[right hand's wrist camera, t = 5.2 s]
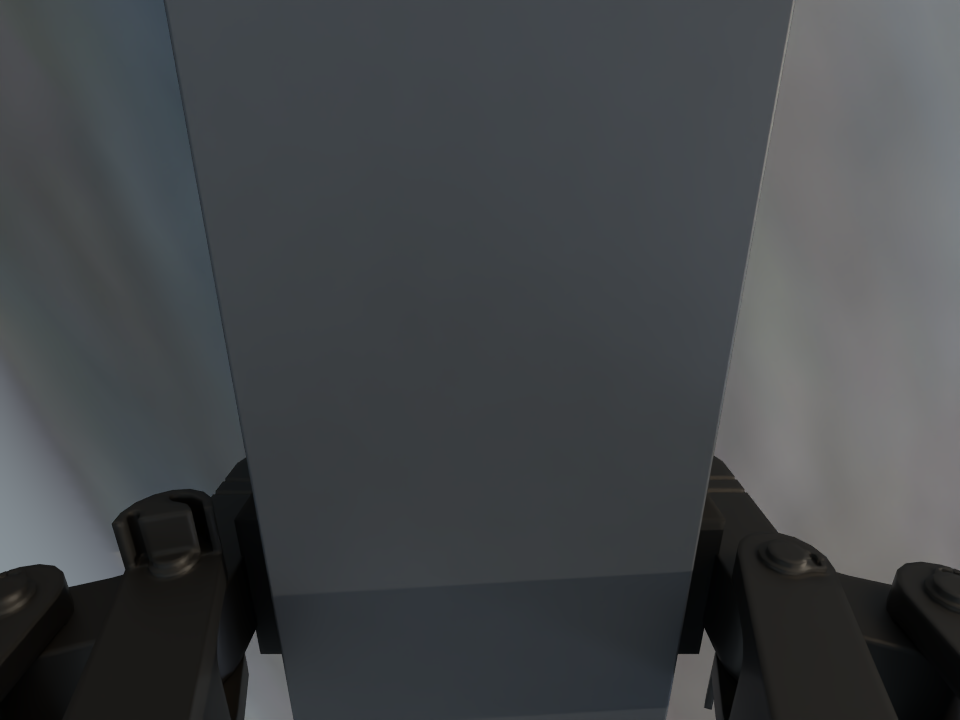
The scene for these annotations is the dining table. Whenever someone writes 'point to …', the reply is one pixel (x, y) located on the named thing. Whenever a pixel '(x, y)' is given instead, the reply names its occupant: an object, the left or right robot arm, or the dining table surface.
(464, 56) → the bar
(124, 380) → the dining table surface
